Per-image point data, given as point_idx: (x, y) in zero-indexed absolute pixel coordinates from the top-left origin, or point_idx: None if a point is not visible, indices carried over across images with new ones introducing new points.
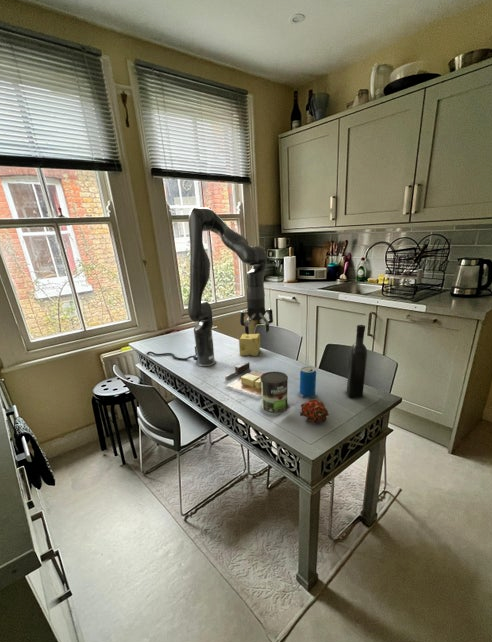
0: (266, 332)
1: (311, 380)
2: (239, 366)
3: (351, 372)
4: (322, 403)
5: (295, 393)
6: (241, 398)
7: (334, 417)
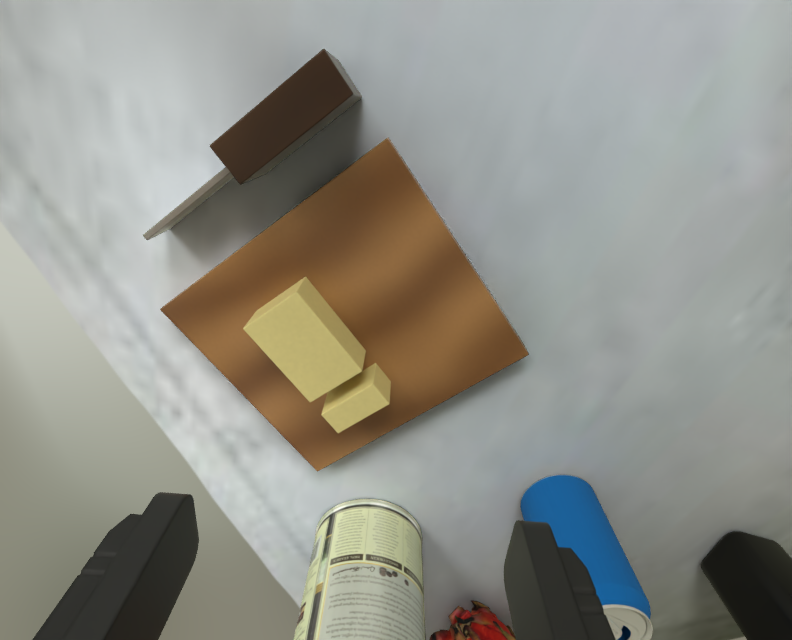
0: (510, 576)
1: None
2: (249, 159)
3: None
4: None
5: (512, 467)
6: (244, 425)
7: None
